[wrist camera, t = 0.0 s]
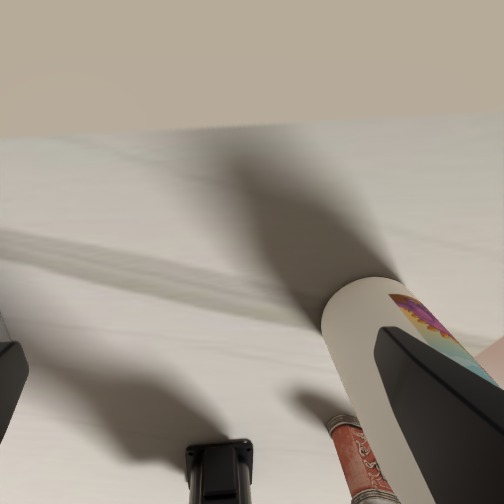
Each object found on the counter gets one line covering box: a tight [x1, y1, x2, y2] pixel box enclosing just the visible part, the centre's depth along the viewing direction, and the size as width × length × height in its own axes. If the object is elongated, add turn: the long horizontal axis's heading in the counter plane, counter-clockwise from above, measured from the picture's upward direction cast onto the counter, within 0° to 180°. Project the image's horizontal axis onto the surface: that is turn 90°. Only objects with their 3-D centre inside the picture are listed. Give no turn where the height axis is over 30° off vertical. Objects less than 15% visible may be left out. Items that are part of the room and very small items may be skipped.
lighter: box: [327, 415, 401, 504], centre depth 30 cm, size 8×3×10 cm, turn 50°
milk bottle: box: [321, 277, 500, 504], centre depth 18 cm, size 8×8×20 cm
